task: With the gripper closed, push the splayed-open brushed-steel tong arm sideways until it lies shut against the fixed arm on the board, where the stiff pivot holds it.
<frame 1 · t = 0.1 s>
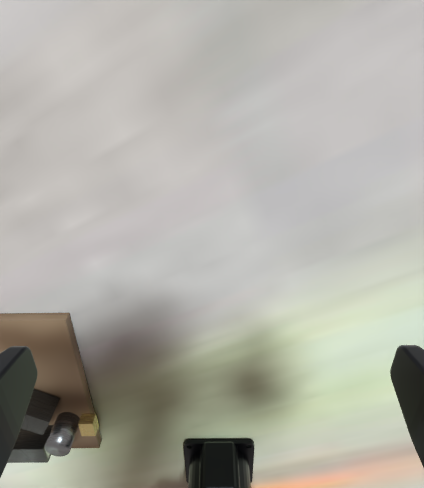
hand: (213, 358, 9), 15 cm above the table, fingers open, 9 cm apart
tongs fixed: (68, 419, 31), resting on board
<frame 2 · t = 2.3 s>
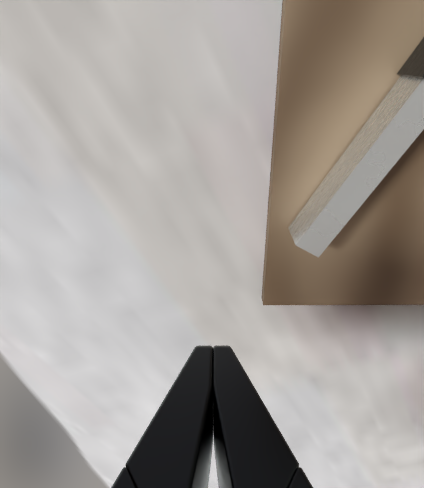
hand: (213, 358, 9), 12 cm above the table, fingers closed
tong arm: (403, 114, 16), point 2 cm above the table, hinge at 30.0°
board: (423, 133, 18), on the table
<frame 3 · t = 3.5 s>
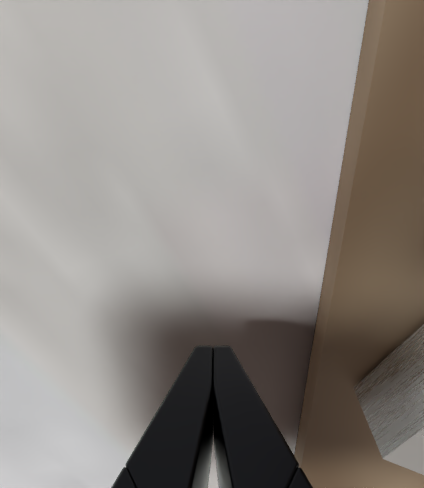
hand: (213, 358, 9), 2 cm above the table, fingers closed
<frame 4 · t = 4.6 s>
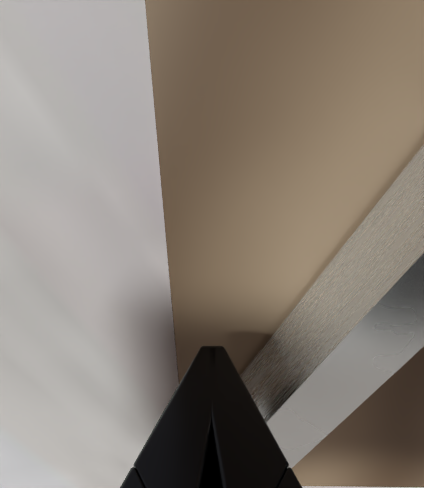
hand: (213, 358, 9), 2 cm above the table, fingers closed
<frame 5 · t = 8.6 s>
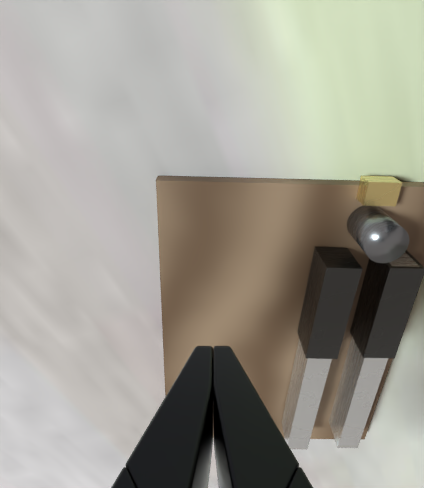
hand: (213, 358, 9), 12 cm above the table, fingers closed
tongs fixed: (365, 222, 19), resting on board
tong arm: (312, 360, 22), point 2 cm above the table, hinge at 1.2°
board: (279, 328, 23), on the table
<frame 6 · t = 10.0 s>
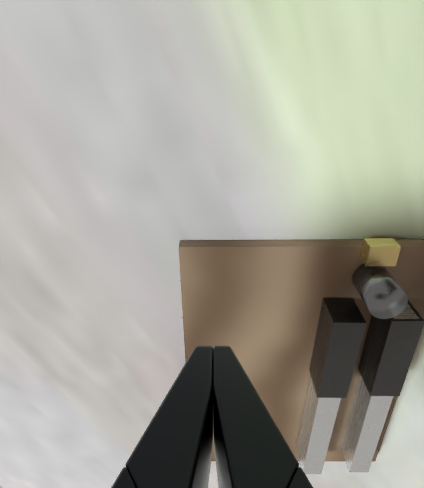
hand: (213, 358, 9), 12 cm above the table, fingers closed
tongs fixed: (369, 276, 21), resting on board
tong arm: (323, 396, 24), point 2 cm above the table, hinge at 1.2°
board: (293, 365, 26), on the table
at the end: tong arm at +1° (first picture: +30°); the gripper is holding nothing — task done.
